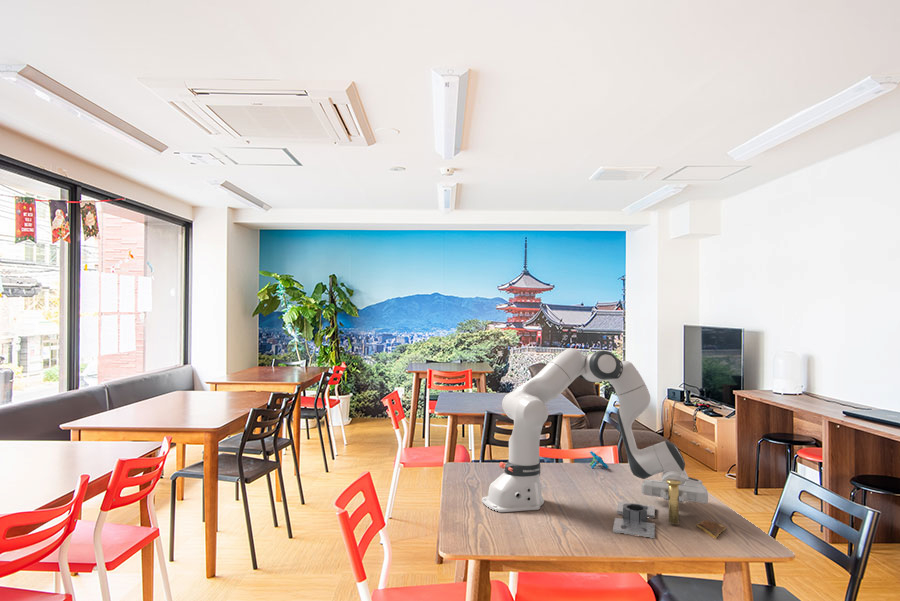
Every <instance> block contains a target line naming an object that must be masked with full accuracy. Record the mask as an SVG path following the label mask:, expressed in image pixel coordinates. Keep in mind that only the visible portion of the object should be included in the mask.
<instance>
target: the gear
mask: <svg viewBox="0 0 900 601" xmlns="http://www.w3.org/2000/svg"><path fill="white" fill-rule="evenodd" d="M589 453H590V456H592V461H591V463H590V464H589V465H591V466H590V467H591V468H592V469H594V468H595V467H596V466H597V465H598V464H601V466H602V467H605V469H609V465H608V464H607V463H606V462H605V461H604V460H603V459H602V458H601V457H600V456H599V455H597V454H596V453H595V452H594V451H592V450H591V451H590V452H589Z"/></svg>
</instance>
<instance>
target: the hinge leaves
mask: <svg viewBox="0 0 900 601" xmlns="http://www.w3.org/2000/svg"><path fill="white" fill-rule="evenodd" d="M655 509H656V507H655V505H648V504H642V503H633V502H626V501H618V503H617V508H616V514H617V515H622V518H620V517H619V518H618V517H615V518H614V522H613V525H612V526H613V527H612V533H615V534H620V533H624V534H623V535H626V534H631V535H630V536H633V535H639V536H645V537H644V538H646V537H650V538H649V539H652V538H655V537H656V536H655V534H656V533H655V530H656V528H655V527H656V526H655V525H656V524H655V523H653V522H648V519H651V518H656V517H655V514H656V513H655V512H656V510H655ZM647 517H649V518H647ZM639 536H638V537H639Z"/></svg>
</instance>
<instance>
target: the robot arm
mask: <svg viewBox="0 0 900 601" xmlns="http://www.w3.org/2000/svg"><path fill="white" fill-rule="evenodd" d="M578 377H579V378H580V379H582V380H583V381H585V382H588V383H593V384H594V383H601V382H605V381H607V382H609V384H611V386H612V387H613V388H614V391H615V393H616V395H617V397H618V401H619V408H618V409H617V410H616V419H617V422H618V423H617V424H618V428H619V431H620V433H621V437H622V443H623V445H624V449H625V452H626V457H627V463H628V467H629V469H630V472H631V473H632V475H633V476H635V477H636V478H639V479H642V480H643V482H642V483H641V494H643V495H644V496H651V497H658V498H663V500H666V501H669V485H668V483H666V480H667V479H676V480H679V481H681V484H680V485H679V502H680V503H684V502H692V503H700V504H704V505H705V504H708V503H709V492H708V489H707V487H706V486H705V485H704V484H703V480H701V479H698V478H697V479H696V478H693V477H689V475H688V474H687V472H686V471H687V470H686V469H685V468H686V462H685V459H684V457H683V454H682V452H681V450H680V449H679V448H678V446H677V445H676V444H674V443H673V442H670V441H668V440H663V441H660V442H658V443H655V444H652V445H649V446H647V447H645V448H641V449H640V448H638V446H637V444H636V443H637V442H636V440H635V436H634V432H633V429H632V425H633V423H634V421H636V419H638V418H639V417H640V415H642V414H643V413H644V412H645V411H646V410H647V408H648V407H649V406H650V403H651V394H650V391H649V389H648V386H647V385H646V382H645V381H644V379H643V377H642V375H641V374H640V373H639V371H638V370H637V367H636V366H635V365H634V364H633V363H632V362H630V361H628V360H620V359H619V358H618V357H617V356H616V355H615V354H614V353H612V352H610V351H608V350H599V351H598V350H597V351H595V352H591V353H590V354H587V355H584V354H583V353H582V352H581V351H579V350H578V349H576V348H572V347H570V348H566V349H564V350H563V351H561V352H560V353H559V354H557V355H556V356H555V357H553V358H552V359H551V360H550V361H549V362H548V363H547V364H546V365H545V366H544V367H543V368H542V369H541V370H539V372H537V373H536V374H535V375H534V376H533V377H532V378H531V379H528V380H527V381H526V382H525V383H522V385H520V386H519V387H517V388H516V389H514V390H512V391H511V392H508V393H507V394H505V396H504V397H503V399H502V401H501V408H502V410H503V412H504V414H505V415H506V416H507V417H508V418H509V419H510V420H513V428H512V433H511V435H510V436H509V439H508V460H507V462H506V463H505V462H503V461H500V462H499V465H498V466H499V468H501V469H504V472H503V473H501V474H500V475H499V476H498V477H497V478H496V479H495V480H494V481H492V482H491V483H490V485H489V487H488V494H487V496H482V498H481V503H482V502H483V503H484V504H485V505H486V506H487V507H486V506H485V505H484V504H483V503H482V504H483V505H484V506H485V507H486V508H488V507H489V508H488V509H490V510H491V509H492V511H494V510H495V511H494V512H497V511H498V512H497V513H509V512H522V511H537V510H540V509H541V506H542V505H544V503H545V500H544V497H543V493H542V492H543V491H542V488H541V478H540V477H541V462H540V440H541V439H540V438H541V434H542V431H543V430H542V429H543V426H544V424H545V423H546V422H547V421H548V420H547V419H548V417H549V409H548V407H547V405H546V403H548V402H550V401H552V400H555V399H556V398H558V397H559V396H560V395H561V394H562V393H563V392H564V391H565V390H566V389H567V388H568V387H569V386H570V385H571V384H572V383H573V382H574V381H575V380H576V379H577V378H578ZM660 473H662V475H661V479H660V480H655V479H648V478H651V477H653V476H654V475H657V474H660Z"/></svg>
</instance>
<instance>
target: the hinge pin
mask: <svg viewBox="0 0 900 601" xmlns="http://www.w3.org/2000/svg"><path fill="white" fill-rule="evenodd" d="M666 483H668V485H669V500H668V522H669V523H670V524H673V525H679V523H680V503H679V485H680V484H681V481H679V480H676V479H667V480H666Z"/></svg>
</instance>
